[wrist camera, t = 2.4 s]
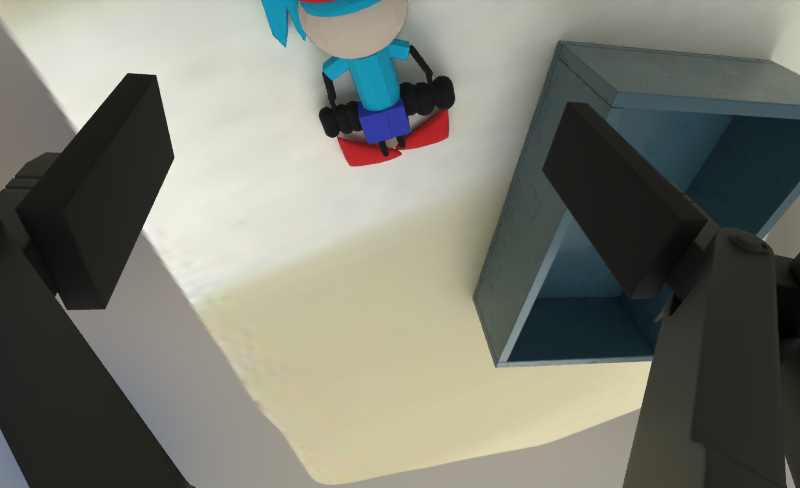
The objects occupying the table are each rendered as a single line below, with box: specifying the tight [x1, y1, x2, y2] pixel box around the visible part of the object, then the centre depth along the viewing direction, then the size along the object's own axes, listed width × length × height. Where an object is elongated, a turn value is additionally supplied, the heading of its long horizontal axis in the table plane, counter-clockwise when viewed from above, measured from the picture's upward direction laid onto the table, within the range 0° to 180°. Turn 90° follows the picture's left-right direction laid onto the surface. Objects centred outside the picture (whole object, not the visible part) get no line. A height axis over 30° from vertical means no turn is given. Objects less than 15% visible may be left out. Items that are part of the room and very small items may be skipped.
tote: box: [473, 41, 800, 368], centre depth 30 cm, size 20×13×7 cm, turn 173°
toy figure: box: [261, 0, 455, 166], centre depth 21 cm, size 8×5×15 cm
